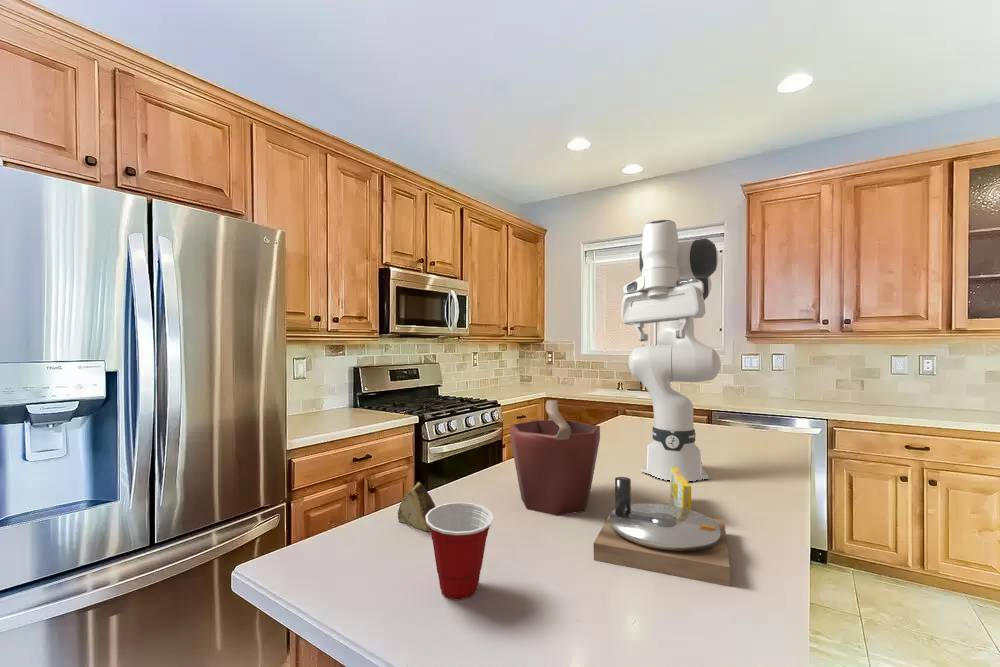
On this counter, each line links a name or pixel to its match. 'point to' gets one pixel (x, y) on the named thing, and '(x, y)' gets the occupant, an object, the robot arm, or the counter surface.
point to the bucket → (555, 462)
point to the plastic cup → (459, 545)
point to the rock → (416, 507)
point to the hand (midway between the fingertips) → (661, 339)
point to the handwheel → (660, 523)
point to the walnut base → (666, 556)
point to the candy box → (679, 490)
